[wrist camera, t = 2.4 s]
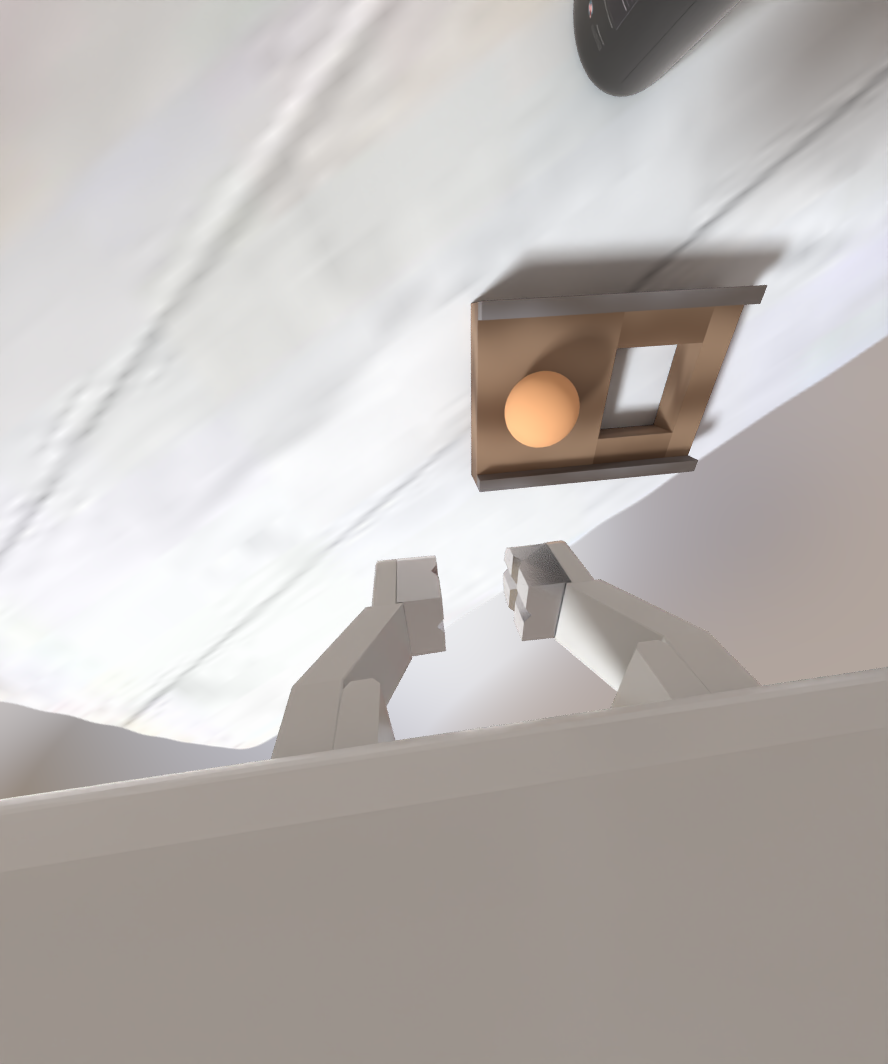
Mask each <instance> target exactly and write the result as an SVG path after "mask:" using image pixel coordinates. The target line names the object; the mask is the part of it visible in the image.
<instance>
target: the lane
mask: <svg viewBox="0 0 888 1064" xmlns="http://www.w3.org/2000/svg"><path fill="white" fill-rule="evenodd" d="M766 288H767V285H760V286H742V287H724V288H706V289H688V290H670V291H652V292H634V293H616V294H598V295H580V296H562V297H544V298H526V299H508V300H490V301H480V302H476V303H472V304H471V475H472V477H473V479H474V481H475V483H476V485H477V487H478V489H479V492H485V491H495V490H505V489H516V488H526V487H536V486H547V485H557V484H567V483H577V482H588V481H598V480H608V479H619V478H629V477H639V476H649V475H660V474H670V473H680V472H689V471H694V469H695V467H696V464H697V462H698V460H697V459H694V458H692V457H690V456H688V454H689V451H690V448H691V446H692V443H693V440H694V438H695V435H696V432H697V430H698V427H699V424H700V421H701V419H702V416H703V413H704V411H705V408H706V405H707V403H708V400H709V397H710V395H711V392H712V389H713V387H714V384H715V381H716V379H717V376H718V373H719V371H720V368H721V365H722V363H723V360H724V357H725V355H726V352H727V349H728V347H729V344H730V341H731V339H732V336H733V333H734V331H735V328H736V325H737V323H738V320H739V317H740V315H741V312H742V309H743V307H744V305H747V304H760V303H761V300H762V298H763V295H764V293H765V290H766ZM675 344H677V348H676V351H675V354H674V358H673V361H672V364H671V368H670V371H669V374H668V378H667V381H666V384H665V388H664V391H663V395H662V398H661V401H660V405H659V408H658V411H657V415H656V418H655V421H654V425H645V426H633V427H622V428H610V429H600V427H601V422H602V417H603V413H604V408H605V403H606V399H607V394H608V389H609V384H610V380H611V375H612V370H613V365H614V361H615V356H616V351H617V348H631V347H645V346H660V345H675ZM539 371H552V372H556V373H559V374H561V375H563V376H565V377H566V378H567V379H569V380H570V381H571V383H572V384H573V385H574V387H575V388H576V391H577V393H578V396H579V402H580V408H579V415H578V418H577V421H576V423H575V425H574V427H573V429H572V430H571V431H570V433H569V434H568V435H567V436H566V437H565V438H563V439H562V440H561V441H559V442H557V443H556V444H553V445H551V446H547V447H540V448H535V447H530V446H526V445H524V444H522V443H520V442H519V441H517V440H516V439H515V438H514V437H513V436H512V434H511V433H510V431H509V430H508V427H507V425H506V421H505V405H506V401H507V398H508V396H509V394H510V392H511V390H512V389H513V388H514V386H515V385H516V384H517V383H518V382H519V381H520V380H522V379H523V378H524V377H526V376H528V375H530V374H532V373H535V372H539Z"/></svg>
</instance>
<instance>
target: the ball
mask: <svg viewBox="0 0 888 1064" xmlns="http://www.w3.org/2000/svg"><path fill="white" fill-rule="evenodd" d="M579 408H580V402H579V396H578V393H577V391H576V388H575V387H574V385H573V384H572V383H571V381H570V380H569V379H567V378H566V377H565V376H563V375H561V374H559V373H556V372H552V371H539V372H535V373H532V374H530V375H528V376H526V377H524V378H523V379H522V380H520V381H519V382H518V383H517V384H516V385H515V386H514V388H513V389H512V390H511V392H510V394H509V396H508V398H507V401H506V405H505V421H506V425H507V427H508V430H509V431H510V433H511V434H512V436H513V437H514V438H515V439H516V440H517V441H519V442H520V443H522V444H524V445H526V446H530V447H535V448H540V447H547V446H551V445H553V444H556V443H557V442H559V441H561V440H562V439H563V438H565V437H566V436H567V435H568V434H569V433H570V431H571V430H572V429H573V427H574V425H575V423H576V421H577V418H578V415H579Z"/></svg>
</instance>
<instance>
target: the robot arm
mask: <svg viewBox="0 0 888 1064" xmlns="http://www.w3.org/2000/svg"><path fill="white" fill-rule="evenodd" d="M504 561H505V563H506V565H507V568H508V569H507V570H506V571H505V572H504V573H503V587H504V594H505V598H506V601H507V604H508V607H509V608H510V609H512V610H513V611H514V622H515V625H516V627H517V630H518V633H519V635H520V638H521V640H522V641H526V640H537V639H546V638H555V640H556V641H558V642H559V643H560V644H561V645H562V646H564V647H565V648H566V649H567V650H568V651H569V652H571V653H572V654H573V655H574V656H575V657H577V658H578V659H579V660H580V661H581V662H583V663H584V664H585V665H586V666H587V667H588V668H590V669H591V670H592V671H593V672H595V673H596V674H597V675H598V676H599V677H600V678H602V679H603V680H604V681H605V682H606V683H608V684H609V685H610V686H611V687H612V688H614V689H615V690H616V691H617V694H616V696H615V698H614V701H613V703H612V705H611V708H610V709H603V710H597V711H590V712H583V713H577V714H570V715H563V716H556V717H550V718H543V719H537V720H530V721H523V722H517V723H510V724H503V725H497V726H490V727H484V728H477V729H470V730H463V731H458V732H450V733H443V734H437V735H430V736H423V737H417V738H410V739H403V740H396V741H395V737H394V734H393V730H392V726H391V723H390V718H389V715H388V711H387V707H386V706H387V704H388V702H389V700H390V699H391V697H392V695H393V693H394V691H395V689H396V687H397V686H398V684H399V682H400V680H401V678H402V676H403V674H404V673H405V671H406V669H407V667H408V665H409V663H410V661H411V660H412V656H417V655H423V654H430V653H436V652H442V651H446V647H445V632H444V625H443V619H444V617H443V606H442V595H441V588H440V581H439V577H438V571H437V562H436V556H423V557H412V558H401V559H391V560H382V561H377V563H376V567H375V577H374V587H373V598H372V607H365V608H364V610H363V611H362V612H361V613H360V614H359V615H358V616H357V617H356V618H355V619H354V620H353V621H352V623H351V624H350V625H349V626H348V627H347V628H346V629H345V630H344V631H343V632H342V633H341V635H340V636H339V637H338V638H337V639H336V640H335V641H334V642H333V643H332V644H331V645H330V646H329V648H328V649H327V650H326V651H325V652H324V653H323V654H322V655H321V656H320V657H319V658H318V659H317V661H316V662H315V663H314V664H313V665H312V666H311V667H310V668H309V669H308V670H307V671H306V672H305V674H304V675H303V676H302V677H301V678H300V679H299V680H298V681H297V682H296V683H295V684H294V685H293V687H292V689H291V692H290V696H289V699H288V703H287V706H286V709H285V713H284V716H283V719H282V723H281V726H280V730H279V733H278V736H277V740H276V743H275V746H274V750H273V753H272V757H271V759H269V760H263V761H255V762H249V763H242V764H235V765H229V766H222V767H216V768H208V769H202V770H195V771H188V772H182V773H175V774H168V775H161V776H155V777H148V778H141V779H134V780H128V781H121V782H114V783H107V784H101V785H94V786H88V787H81V788H74V789H67V790H60V791H53V792H47V793H40V794H33V795H26V796H20V797H13V798H7V799H0V1064H888V667H886V668H878V669H871V670H865V671H858V672H851V673H844V674H838V675H832V676H824V677H818V678H811V679H805V680H798V681H791V682H784V683H777V684H772V685H764V686H762V685H760V683H759V682H758V681H757V680H756V679H755V678H754V677H753V676H752V675H750V673H749V672H748V671H747V670H746V669H745V668H744V667H743V666H742V665H741V664H740V663H739V662H738V661H737V660H736V659H735V658H734V657H733V656H732V655H731V654H730V653H729V652H728V651H727V650H726V649H725V648H724V647H723V646H722V645H721V644H720V643H719V642H718V641H717V640H716V639H715V638H714V637H713V636H712V635H711V634H710V633H709V632H708V631H706V630H703V629H702V628H700V627H697V626H695V625H693V624H691V623H689V622H687V621H685V620H683V619H681V618H679V617H677V616H675V615H673V614H670V613H669V612H667V611H665V610H662V609H661V608H658V607H656V606H654V605H652V604H650V603H648V602H646V601H644V600H642V599H640V598H638V597H636V596H634V595H632V594H630V593H628V592H626V591H624V590H622V589H619V588H617V587H615V586H613V585H611V584H609V583H607V582H605V581H603V580H601V579H598V580H594V578H593V577H592V576H591V575H590V573H589V572H588V571H587V569H586V568H585V567H584V565H583V564H582V563H581V562H580V561H579V559H578V558H577V556H576V555H575V554H574V553H573V551H572V550H571V549H570V547H569V546H568V545H567V543H566V542H564V541H554V542H547V543H543V544H536V545H527V546H519V547H510V548H506V551H505V558H504Z"/></svg>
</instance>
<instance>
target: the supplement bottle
mask: <svg viewBox="0 0 888 1064" xmlns="http://www.w3.org/2000/svg"><path fill="white" fill-rule="evenodd" d="M740 1H741V0H574V8H573V19H574V34H575V40H576V46H577V50H578V54H579V57H580V60H581V63H582V65H583V68H584V70H585V72H586V74H587V75H588V77H589V78H590V80H591V81H592V82H593V83H594V85H596V86H597V87H598V88H599V89H600V90H602V91H603V92H605V93H607V94H609V95H613V96H619V97H622V96H629V95H633V94H636V93H639V92H641V91H643V90H645V89H646V88H648V87H649V86H651V85H652V84H653V83H655V82H656V81H657V80H658V79H659V78H660V77H662V76H663V75H664V74H665V73H666V72H667V71H668V70H669V69H670V68H671V67H672V66H673V65H674V64H676V63H677V62H678V61H679V60H680V59H681V58H682V57H683V56H684V55H685V54H686V53H687V52H688V51H689V50H690V49H691V48H692V47H693V46H694V45H695V44H696V43H697V42H698V41H699V40H700V39H701V38H702V37H704V36H705V35H706V34H707V33H708V32H709V31H710V30H711V29H712V28H713V27H714V26H715V25H716V24H717V23H718V22H719V21H720V20H721V19H722V18H723V17H724V16H725V15H726V14H727V13H728V12H729V11H731V10H732V9H733V8H734V7H735V6H736V5H737V4H738V3H739V2H740Z"/></svg>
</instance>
